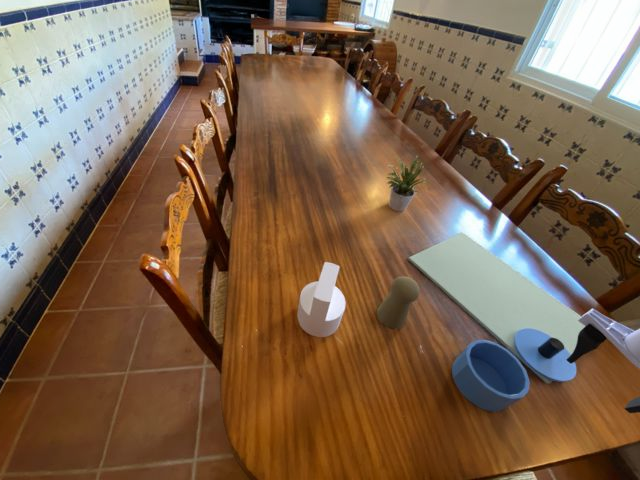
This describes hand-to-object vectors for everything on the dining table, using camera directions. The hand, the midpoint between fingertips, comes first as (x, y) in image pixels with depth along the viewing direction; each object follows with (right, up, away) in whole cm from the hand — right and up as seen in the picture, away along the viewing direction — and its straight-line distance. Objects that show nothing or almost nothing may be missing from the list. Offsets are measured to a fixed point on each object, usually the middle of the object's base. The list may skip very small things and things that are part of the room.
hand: (598, 381), depth 45 cm
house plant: (-13, +29, +50) cm, 59 cm away
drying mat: (+2, +7, +25) cm, 26 cm away
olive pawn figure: (-25, +4, +18) cm, 31 cm away
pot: (-12, -5, +9) cm, 16 cm away
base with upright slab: (-41, +4, +17) cm, 44 cm away
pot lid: (+2, -2, +12) cm, 13 cm away
